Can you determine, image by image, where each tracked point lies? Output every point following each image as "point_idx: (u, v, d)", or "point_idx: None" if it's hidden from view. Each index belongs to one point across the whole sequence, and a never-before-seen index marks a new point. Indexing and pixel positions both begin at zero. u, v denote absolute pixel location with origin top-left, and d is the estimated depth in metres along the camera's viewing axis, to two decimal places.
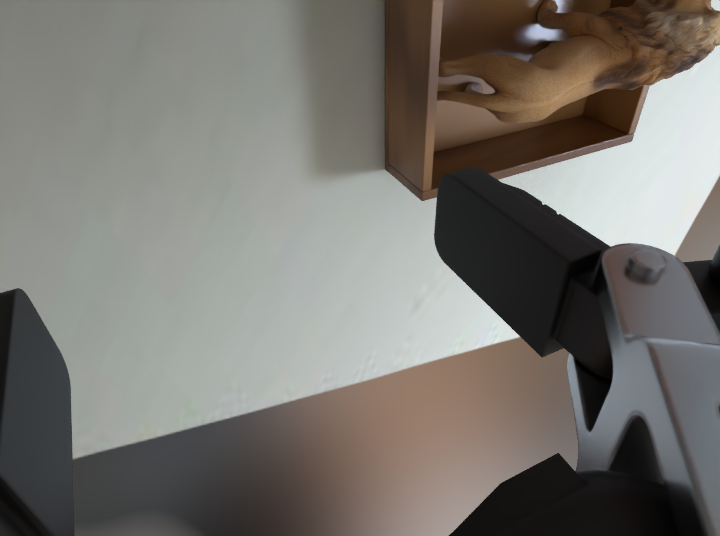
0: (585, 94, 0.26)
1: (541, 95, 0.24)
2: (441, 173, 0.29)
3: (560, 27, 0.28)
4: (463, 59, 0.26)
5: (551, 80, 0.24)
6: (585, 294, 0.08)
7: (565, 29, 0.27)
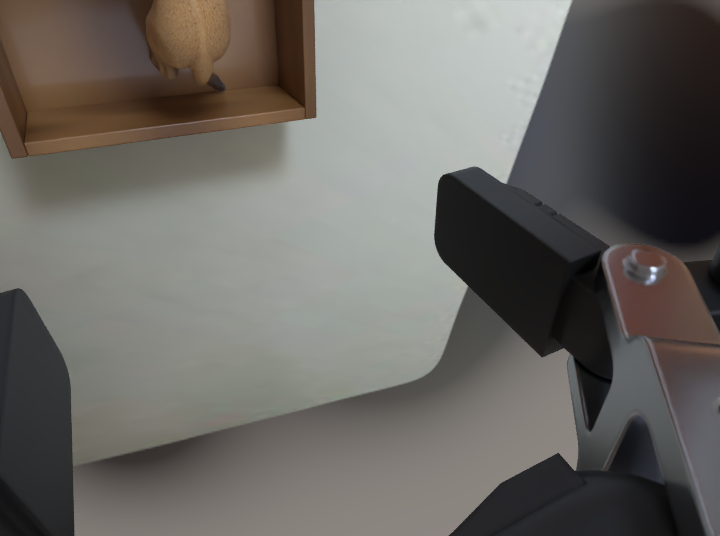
0: None
1: (189, 35, 0.18)
2: (294, 67, 0.25)
3: None
4: (156, 58, 0.22)
5: (170, 14, 0.18)
6: (585, 294, 0.08)
7: None
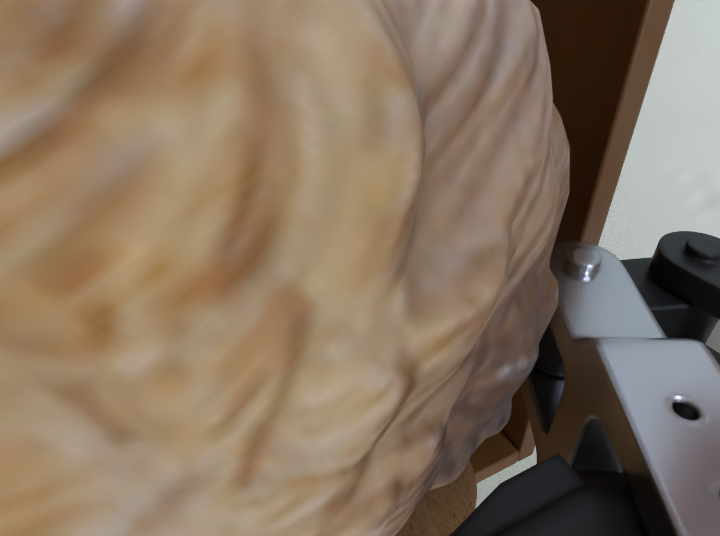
0: None
1: None
2: None
3: None
4: None
5: None
6: None
7: None
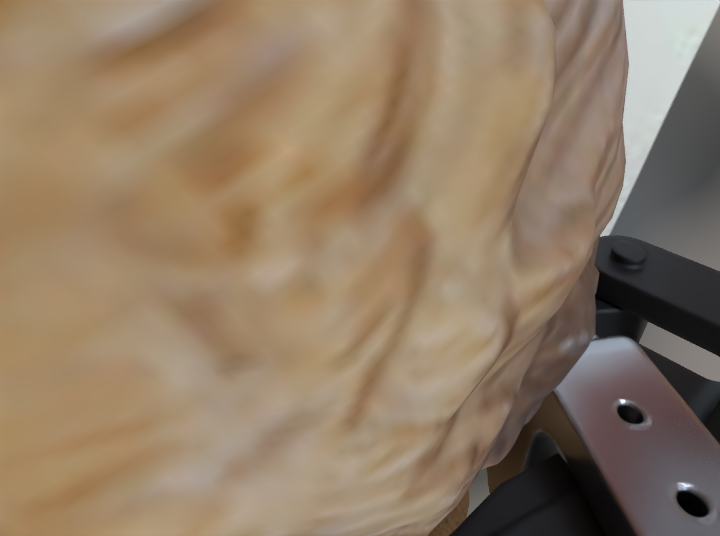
0: None
1: None
2: None
3: None
4: None
5: None
6: None
7: None
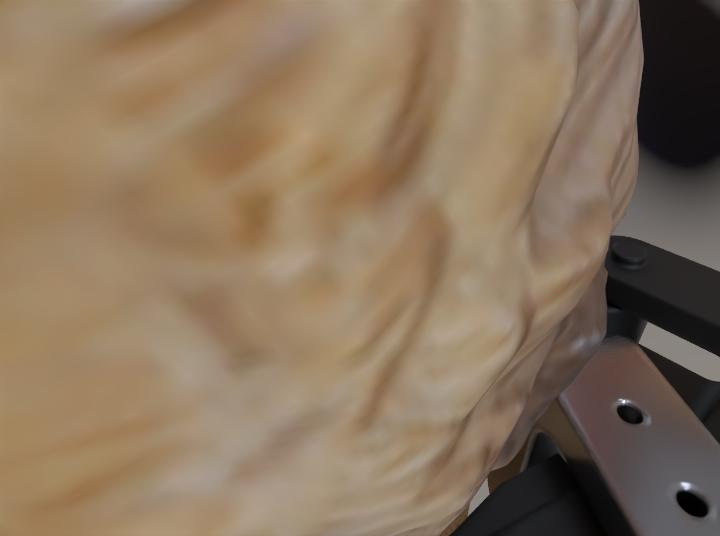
0: None
1: None
2: None
3: None
4: None
5: None
6: None
7: None
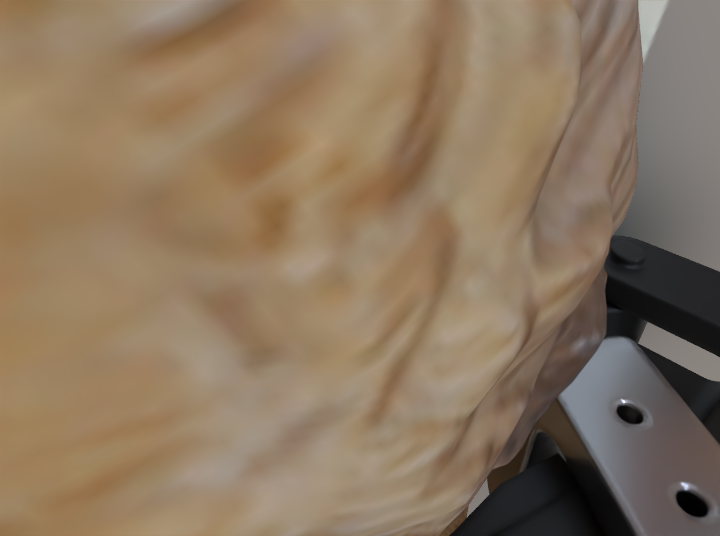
0: None
1: None
2: None
3: None
4: None
5: None
6: None
7: None
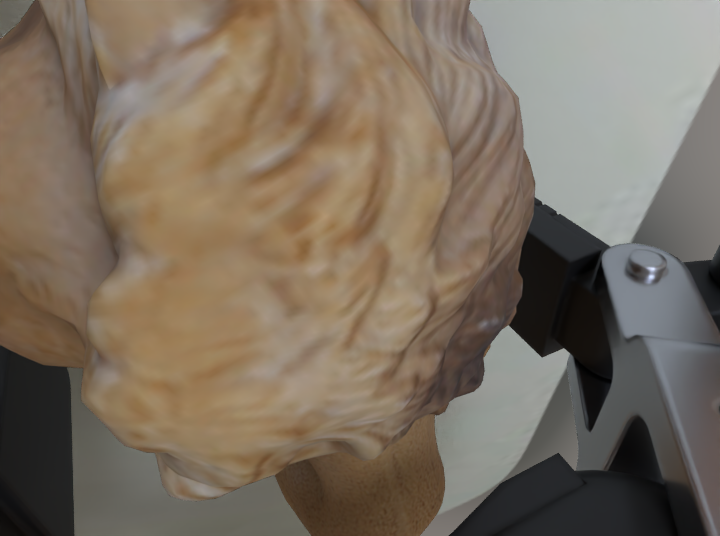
0: None
1: None
2: None
3: None
4: None
5: None
6: (585, 294, 0.08)
7: None
